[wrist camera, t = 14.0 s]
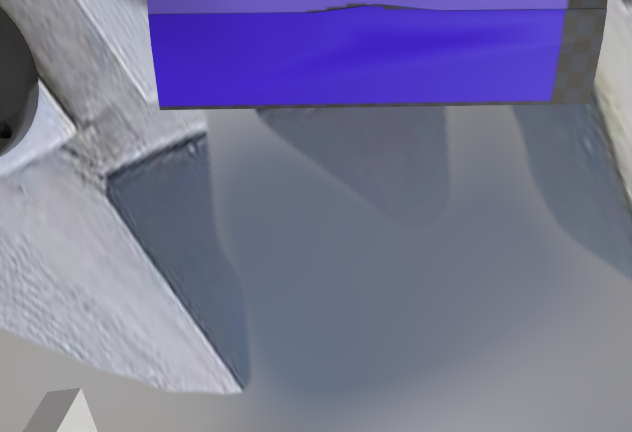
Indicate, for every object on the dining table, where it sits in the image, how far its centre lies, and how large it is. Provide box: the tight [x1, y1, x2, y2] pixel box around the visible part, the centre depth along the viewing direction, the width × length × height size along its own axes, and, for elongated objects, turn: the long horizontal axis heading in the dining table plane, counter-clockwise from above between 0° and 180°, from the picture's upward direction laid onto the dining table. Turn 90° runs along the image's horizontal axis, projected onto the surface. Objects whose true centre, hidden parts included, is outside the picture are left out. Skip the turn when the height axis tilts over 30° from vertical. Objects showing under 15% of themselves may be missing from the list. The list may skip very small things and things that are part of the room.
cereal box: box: [147, 0, 607, 110], centre depth 33 cm, size 17×5×24 cm, turn 91°
